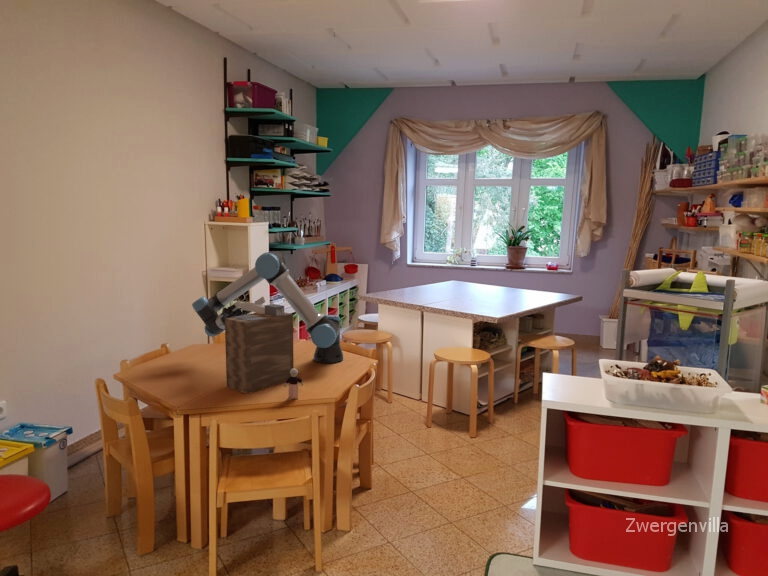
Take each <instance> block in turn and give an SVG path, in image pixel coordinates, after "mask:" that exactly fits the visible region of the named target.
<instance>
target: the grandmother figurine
mask: <svg viewBox="0 0 768 576" xmlns="http://www.w3.org/2000/svg"><path fill="white" fill-rule="evenodd" d="M290 374H291V376H292V377H289V378H288V379H287V381H286V382H284V387H285V388H286V387H287V386H288V397H287V398H286V399H287V401H288V400H289V401H291V400H299V384H300V385H301V386H304V382H303V379H302V378H300V377H299V376H298V374H299V371H298V369H296V368H295V367H294V368H293V369H291V370H290ZM288 384H289V385H288Z"/></svg>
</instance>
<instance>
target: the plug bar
mask: <svg viewBox="0 0 768 576" xmlns="http://www.w3.org/2000/svg"><path fill="white" fill-rule="evenodd" d="M241 305H242V306H241V307H240V308H241V311H242V310H246V311H251V312H250V313H256V312H257V313H262V314H266V315H271V316H280V315H284V312H285V305H282V304H276V303H271V304H256V303H254V302H250V301H245V302H241Z"/></svg>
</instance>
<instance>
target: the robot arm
mask: <svg viewBox="0 0 768 576" xmlns="http://www.w3.org/2000/svg"><path fill="white" fill-rule="evenodd" d="M286 263H287V262H286V258H285V257H284V255H283V254H282V253H280V252H279V251H277V250H271V251H268V252H267V251H266V252H264V253H262V254H260V255H259V256H258V258H257V259H256V260H255V263H254V267H253V268H252V269H250V270H249V271H247V272H246V273H244V274H243V275H241V276H240V277H238V278H237V279H235V280H234V281H233V282H231V283H229V284H228V285H227V286H225V287H224V288H223V289H222V290H220V291H218V292H217V293H216V294H214V295H212V296H211V297H209V298H208V299H207V297H205V296H201V297H200V298H198V299H197V300H195V301H194V302H192V304H191V307H192V308H193V310H194V312H195V313H196V314H197V315H198V316H199V318H200V320H202V322H203V324H204V332H205V334H206V335H207V336H209V337H211V338H212V337H213V338H214V337H216V336H218V335H220V334H221V333H223V332H225V318H230V317H234V316H239V315H247V314H251V313H252V312H251V311H246V310H241V306H242V305H241V303H242V302H241V300H240V299H238V300H237V301H235V300H236V299H237V298H239V297H241V296H242V295H243V294H245V293H246V292H247V291H249V290H251V289H252V288H254V287H255V286H256V285H258V284H259V283H261V282H262V281H264V280H265V281H266V282H267V283H268V285H271V286H274V287H275V288H276V289H277V291H278V292H279V293H280V295H282V297H283V299H285V300H286V302H287V303H288V304H289V306H290V307H291V308H292V309H293V310H294V311H295V313H296V314H297V315H298V316H299V318H300V319H301V320H302V322H303V323H304V324H305V331H306V332H307V333H308V335H309V336H310V340H311V342H312V343H313V345H315V346H316V348H315V351H314V353H313V360H314V362H317V363H320V364H335V362H336V363H339V361H340V362H342V361H343V360H344V352H343V350H342V347H341V318H340V317H341V316H339V315H335V314H334V315H333V314H325V313H320V311H318V309H317V308H316V307H315V306H314V304H313V303H312V301H310V299H309V298H308V297H307V295H306V294H305V293H304V292H303V290H302V289H301V288H300V286H299V285H298V284H297V283H296V281H295V280H294V279H293V278H292V276H291V275H290V269H289V267H287V265H286ZM233 301H235V302H234V303H232V302H233ZM230 303H232V304H231V305H230V306H227V305H229V304H230ZM253 303H256V304H262V305H264V304H265V303H266V300H265V297H264V296H261V297H260V298H258V299H256V300H255V301H254V302H253ZM226 306H227V307H226ZM221 310H222V312H221V313H220V314H218V312H219V311H221Z"/></svg>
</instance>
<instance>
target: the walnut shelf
mask: <svg viewBox="0 0 768 576" xmlns="http://www.w3.org/2000/svg"><path fill="white" fill-rule="evenodd" d="M224 335H225V338H224V339H225V372H226V373H225V374H226V375H225V376H226V377H225V378H226V388H228V387H229V388H228V389H231V388H232V389H233V390H235V391H238V390H239V391H238V392H241V391H242V392H241V393H244V392H245V394H247V395H248V393H249V394H251V392H252V393H254V392H255V393H256V392H257V391H260V390H264V389H266V388H270V386H271V387H273V385H274V386H276V385H279V384H282V383H283V384H284V383H285V382H286V381H287V379H288V378H289V377H292V376H291V374H290V370H291V369H293V368H295V367H294V366H295V365H294V359H295V358H294V313H290V312H285V311H284V315H280V316H271V315H266V314H262V313H257V312H252V313H248V314H246V315H239V316H234V317H230V318H225V330H224ZM263 388H264V389H263Z"/></svg>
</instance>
